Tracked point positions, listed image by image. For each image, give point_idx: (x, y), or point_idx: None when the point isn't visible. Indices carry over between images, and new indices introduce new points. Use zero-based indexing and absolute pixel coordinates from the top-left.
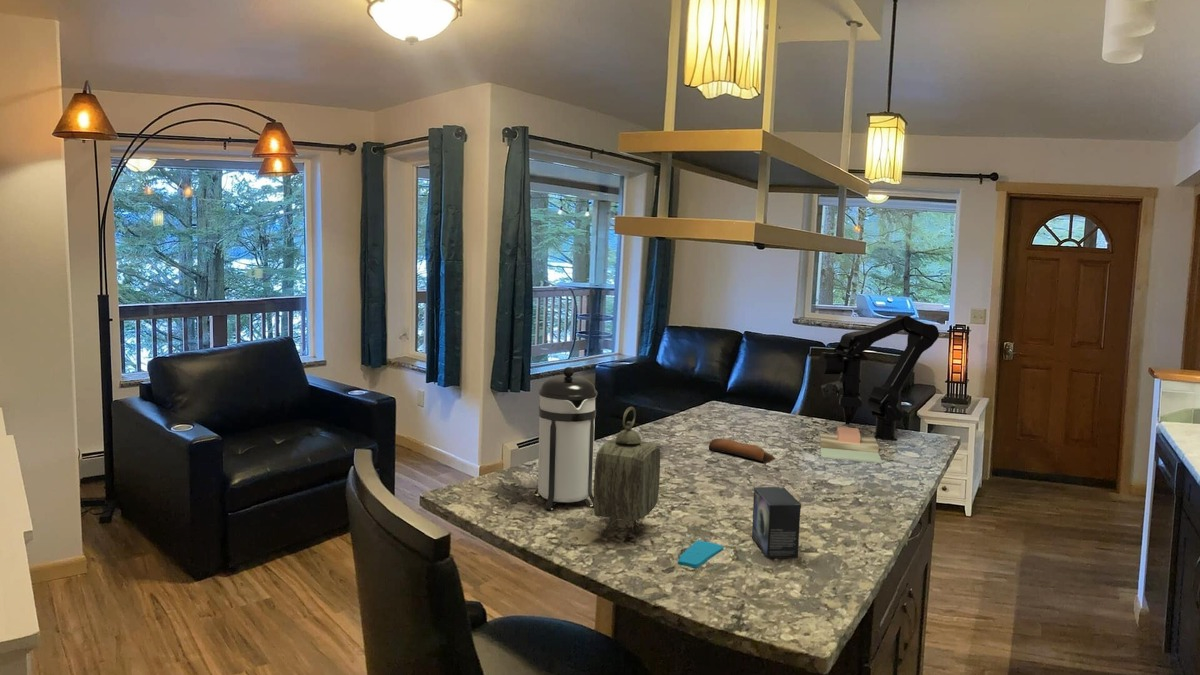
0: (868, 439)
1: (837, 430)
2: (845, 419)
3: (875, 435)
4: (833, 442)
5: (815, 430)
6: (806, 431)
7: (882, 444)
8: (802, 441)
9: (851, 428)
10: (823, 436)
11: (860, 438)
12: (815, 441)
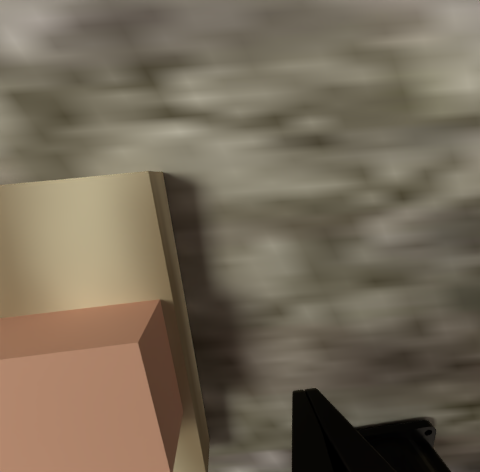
0: None
1: (132, 323)
2: (293, 439)
3: (368, 440)
4: None
5: (439, 121)
6: (386, 52)
7: (228, 463)
8: (9, 42)
9: (139, 442)
10: (26, 209)
11: None
12: (80, 147)
